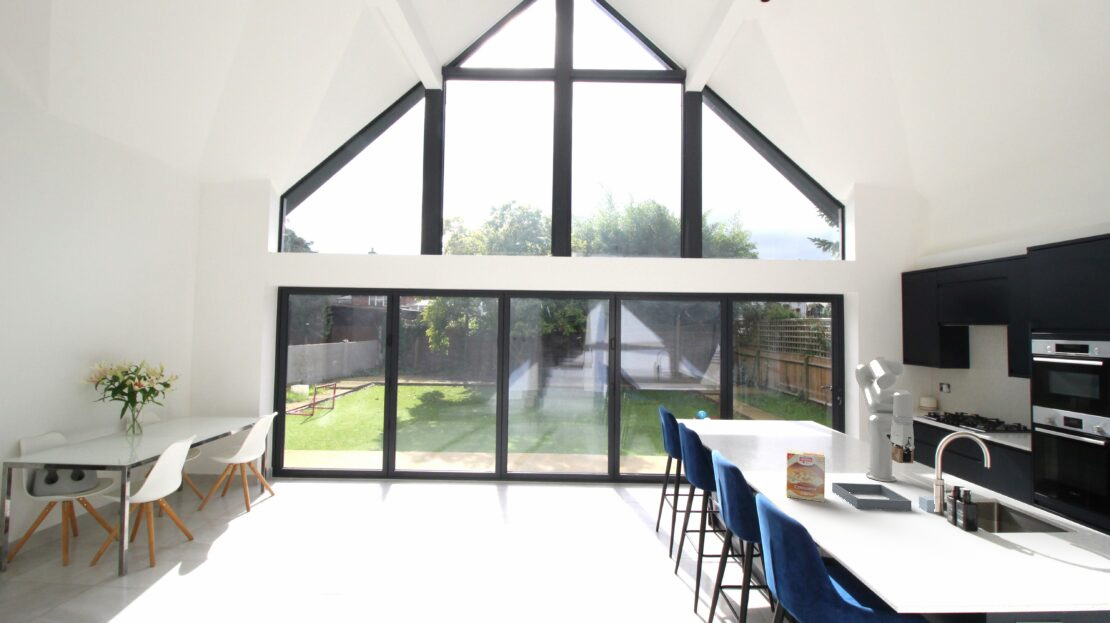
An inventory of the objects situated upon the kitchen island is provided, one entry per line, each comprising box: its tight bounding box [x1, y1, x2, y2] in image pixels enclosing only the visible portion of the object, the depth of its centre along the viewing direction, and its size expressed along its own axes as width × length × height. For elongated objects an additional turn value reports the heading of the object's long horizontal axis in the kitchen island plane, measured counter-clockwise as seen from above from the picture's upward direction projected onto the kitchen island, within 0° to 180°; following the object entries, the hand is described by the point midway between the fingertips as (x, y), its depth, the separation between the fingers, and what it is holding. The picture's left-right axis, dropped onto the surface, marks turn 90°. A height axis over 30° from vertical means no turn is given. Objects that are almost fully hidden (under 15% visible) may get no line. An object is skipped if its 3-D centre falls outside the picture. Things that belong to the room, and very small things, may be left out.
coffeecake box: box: [785, 449, 826, 503], centre depth 225 cm, size 15×7×20 cm, turn 68°
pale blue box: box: [918, 495, 935, 513], centre depth 213 cm, size 5×5×5 cm
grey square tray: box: [831, 482, 912, 512], centre depth 223 cm, size 22×22×4 cm
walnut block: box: [891, 445, 915, 464], centre depth 231 cm, size 6×6×6 cm
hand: (902, 459), depth 231 cm, fingers closed on walnut block, 6 cm apart
